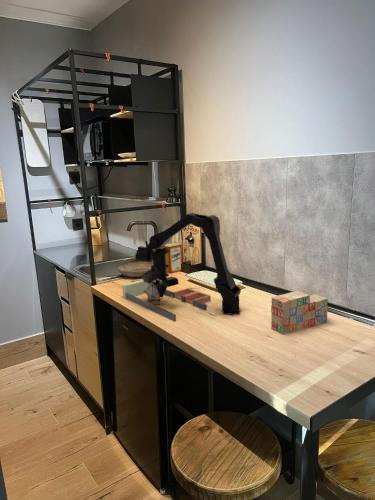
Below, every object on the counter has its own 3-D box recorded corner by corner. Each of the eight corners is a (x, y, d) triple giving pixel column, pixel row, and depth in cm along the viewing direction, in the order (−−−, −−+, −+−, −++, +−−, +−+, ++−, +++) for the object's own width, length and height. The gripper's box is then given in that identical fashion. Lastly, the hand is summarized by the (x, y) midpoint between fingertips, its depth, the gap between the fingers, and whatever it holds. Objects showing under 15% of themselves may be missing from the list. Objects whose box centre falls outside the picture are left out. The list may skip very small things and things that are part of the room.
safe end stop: (155, 290, 183) (155, 278, 182) (125, 298, 173) (124, 286, 172) (152, 289, 185) (152, 277, 184) (123, 297, 175) (122, 284, 173)
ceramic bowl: (167, 273, 213) (167, 265, 212) (133, 282, 198) (133, 273, 197) (143, 267, 230) (142, 259, 229) (110, 275, 214) (109, 266, 213)
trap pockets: (210, 300, 165) (210, 295, 165) (195, 305, 160) (195, 300, 159) (188, 292, 177) (188, 287, 177) (173, 297, 172) (173, 292, 171)
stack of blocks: (314, 316, 144) (315, 286, 141) (327, 322, 138) (328, 290, 136) (270, 329, 134) (271, 296, 132) (282, 335, 129) (283, 301, 126)
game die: (158, 306, 172) (169, 287, 172) (154, 305, 163) (166, 286, 164) (142, 296, 173) (153, 277, 174) (137, 295, 165) (149, 275, 166)
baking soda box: (176, 268, 223) (174, 242, 220) (183, 270, 218) (181, 243, 215) (163, 271, 217) (161, 244, 214) (170, 273, 212) (168, 246, 209)
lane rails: (206, 310, 154) (206, 304, 154) (174, 321, 144) (174, 315, 144) (155, 290, 183) (155, 285, 183) (125, 298, 173) (125, 293, 172)
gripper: (132, 262, 163) (134, 296, 166) (156, 270, 149) (158, 307, 152) (153, 258, 170) (155, 291, 173) (178, 264, 156) (180, 300, 159)
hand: (161, 297), depth 164 cm, fingers closed
